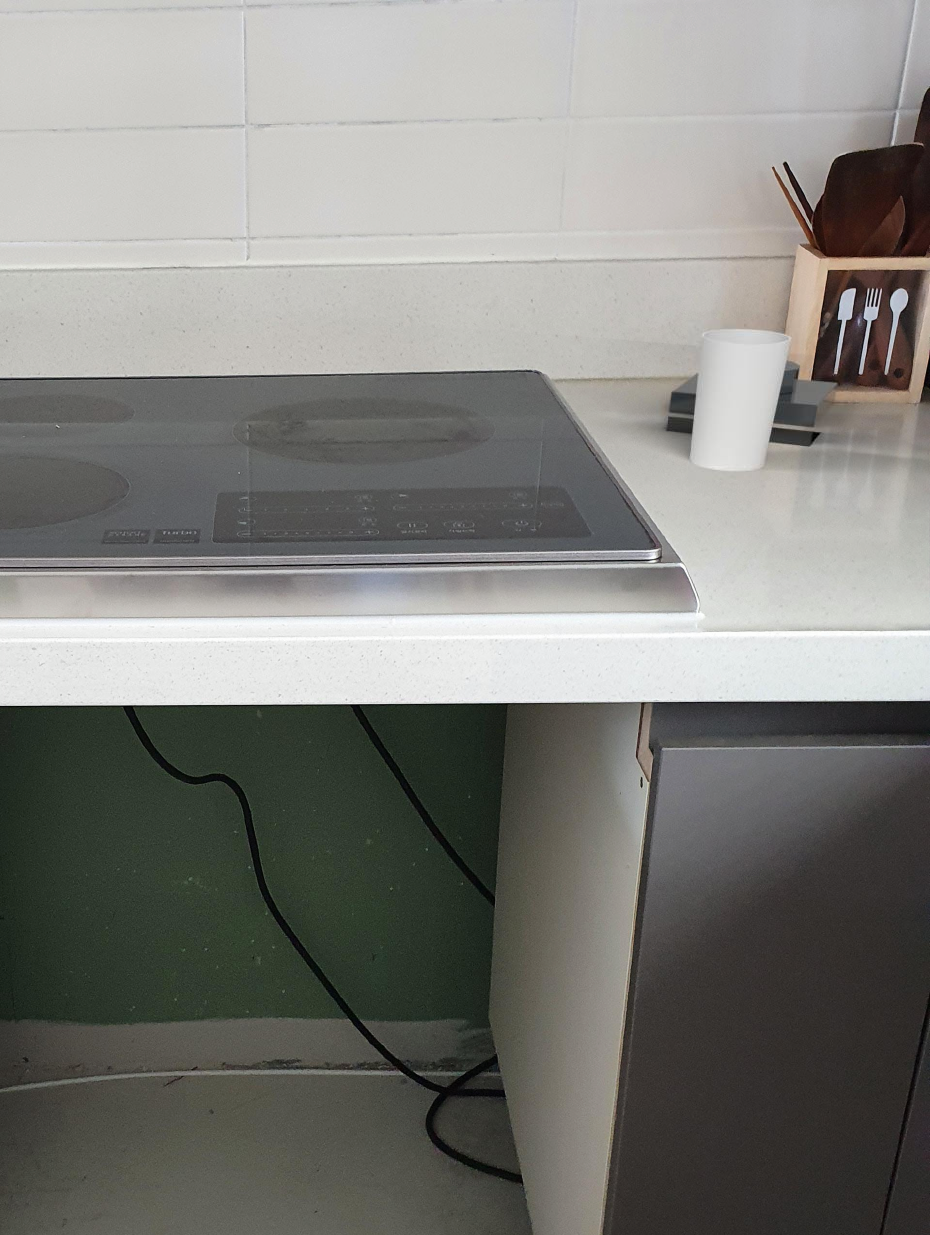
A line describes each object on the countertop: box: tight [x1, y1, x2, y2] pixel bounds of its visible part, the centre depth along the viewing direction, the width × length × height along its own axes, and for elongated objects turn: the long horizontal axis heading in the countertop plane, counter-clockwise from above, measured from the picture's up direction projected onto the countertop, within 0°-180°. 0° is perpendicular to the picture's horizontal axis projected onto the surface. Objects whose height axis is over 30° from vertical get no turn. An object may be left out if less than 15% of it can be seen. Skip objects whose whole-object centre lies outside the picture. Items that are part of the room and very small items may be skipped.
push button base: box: [665, 360, 839, 447], centre depth 119 cm, size 12×10×6 cm
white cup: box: [689, 328, 792, 472], centre depth 108 cm, size 7×7×10 cm
